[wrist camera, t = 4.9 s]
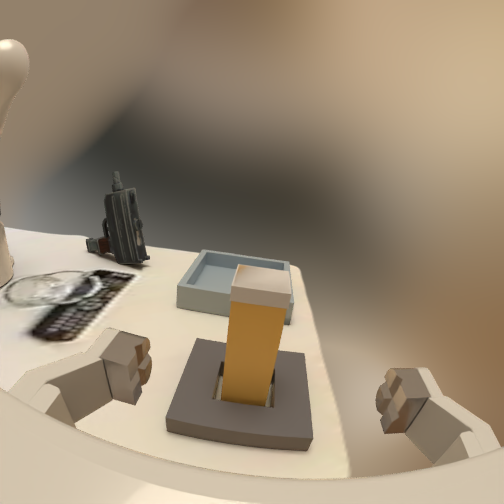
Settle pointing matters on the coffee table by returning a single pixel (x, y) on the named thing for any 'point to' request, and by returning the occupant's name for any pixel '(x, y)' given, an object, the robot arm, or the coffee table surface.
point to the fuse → (254, 332)
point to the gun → (121, 227)
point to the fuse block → (242, 415)
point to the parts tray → (219, 281)
